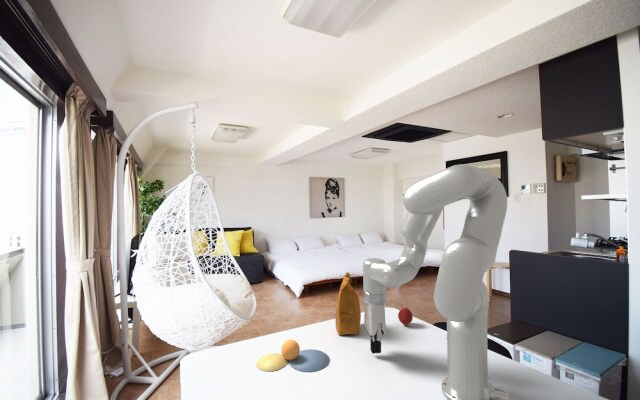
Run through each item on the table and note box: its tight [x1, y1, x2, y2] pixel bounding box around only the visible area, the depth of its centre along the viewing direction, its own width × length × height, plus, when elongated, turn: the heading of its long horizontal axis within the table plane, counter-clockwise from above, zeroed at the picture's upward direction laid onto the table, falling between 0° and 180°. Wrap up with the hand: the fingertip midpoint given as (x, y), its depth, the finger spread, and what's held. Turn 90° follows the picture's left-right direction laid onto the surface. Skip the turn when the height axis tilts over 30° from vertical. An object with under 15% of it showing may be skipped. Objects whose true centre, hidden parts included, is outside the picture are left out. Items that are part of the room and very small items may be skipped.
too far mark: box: [256, 353, 289, 372], centre depth 93 cm, size 10×10×1 cm
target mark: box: [288, 348, 330, 373], centre depth 94 cm, size 13×13×1 cm
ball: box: [281, 339, 301, 361], centre depth 95 cm, size 6×6×6 cm
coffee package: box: [335, 271, 361, 336], centre depth 116 cm, size 10×12×22 cm
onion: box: [397, 305, 414, 326], centre depth 119 cm, size 6×6×8 cm
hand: (375, 351), depth 96 cm, fingers closed
